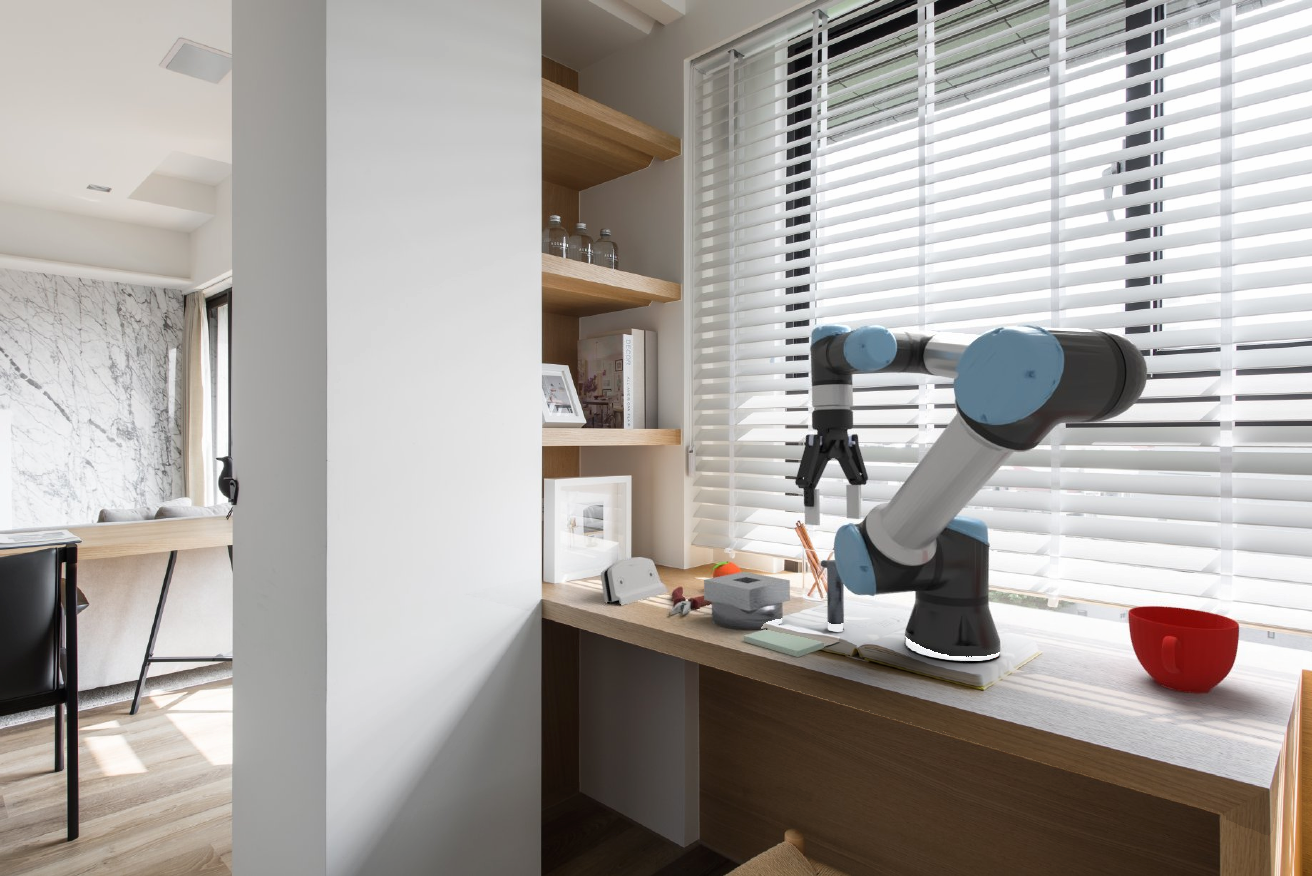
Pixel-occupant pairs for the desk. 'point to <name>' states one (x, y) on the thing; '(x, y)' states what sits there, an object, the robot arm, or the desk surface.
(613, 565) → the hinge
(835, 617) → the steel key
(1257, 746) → the desk surface
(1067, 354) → the robot arm
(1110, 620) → the desk surface
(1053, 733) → the desk surface
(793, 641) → the sage mat
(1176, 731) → the desk surface
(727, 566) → the clementine
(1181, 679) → the ceramic cup
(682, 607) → the pliers
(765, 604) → the chuck block
